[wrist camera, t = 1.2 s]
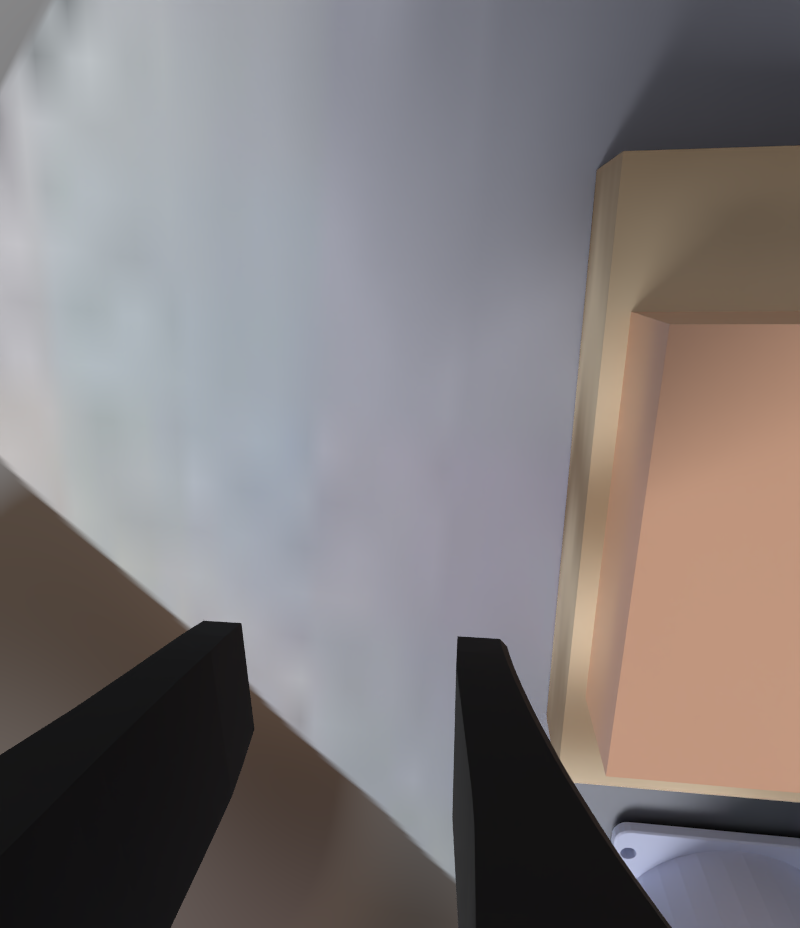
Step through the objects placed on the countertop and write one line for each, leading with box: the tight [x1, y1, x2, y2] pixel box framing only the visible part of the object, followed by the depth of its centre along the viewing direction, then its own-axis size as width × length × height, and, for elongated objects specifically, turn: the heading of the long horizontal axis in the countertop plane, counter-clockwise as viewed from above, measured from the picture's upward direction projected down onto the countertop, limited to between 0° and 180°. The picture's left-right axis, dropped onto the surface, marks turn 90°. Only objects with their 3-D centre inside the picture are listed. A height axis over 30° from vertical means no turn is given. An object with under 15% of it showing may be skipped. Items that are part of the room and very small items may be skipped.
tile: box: [585, 311, 800, 793], centre depth 12 cm, size 10×7×2 cm
